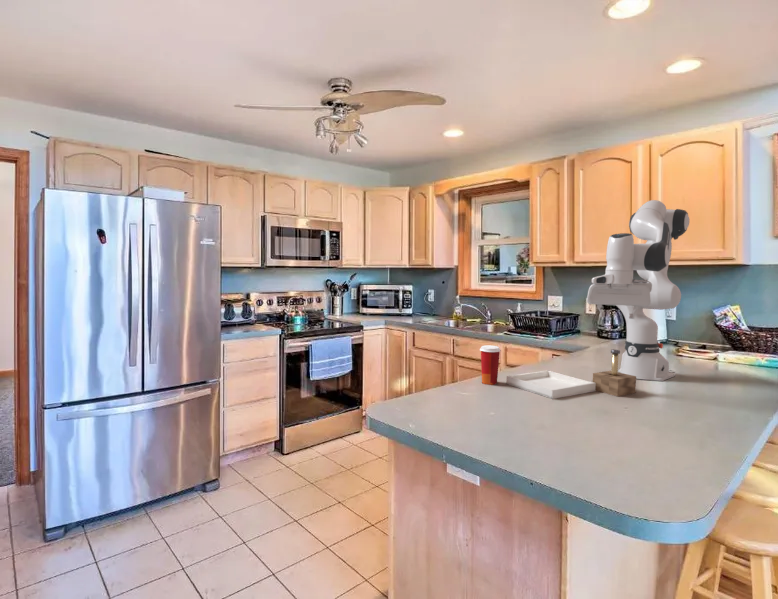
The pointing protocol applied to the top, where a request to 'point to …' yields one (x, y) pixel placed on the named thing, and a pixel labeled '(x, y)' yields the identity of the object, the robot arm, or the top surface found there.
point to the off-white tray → (550, 384)
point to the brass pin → (614, 362)
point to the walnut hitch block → (614, 383)
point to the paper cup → (489, 364)
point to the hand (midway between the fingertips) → (616, 317)
